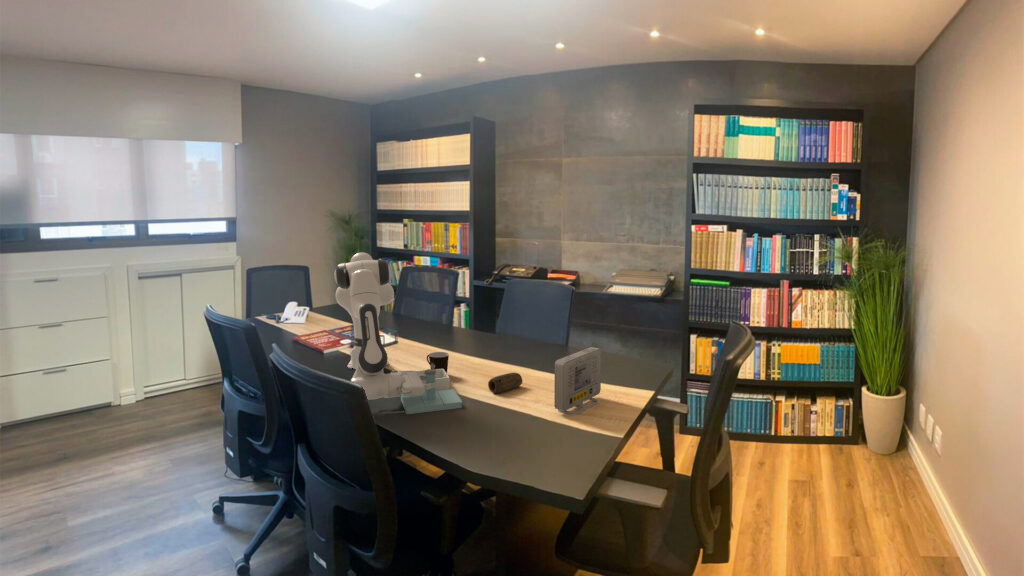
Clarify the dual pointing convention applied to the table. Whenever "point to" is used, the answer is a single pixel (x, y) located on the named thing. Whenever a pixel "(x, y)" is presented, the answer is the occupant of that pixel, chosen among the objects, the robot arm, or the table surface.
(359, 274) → the robot arm
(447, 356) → the coffee mug
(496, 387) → the hollow wooden cylinder
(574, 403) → the network device
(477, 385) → the table surface
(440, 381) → the tub
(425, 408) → the lid
